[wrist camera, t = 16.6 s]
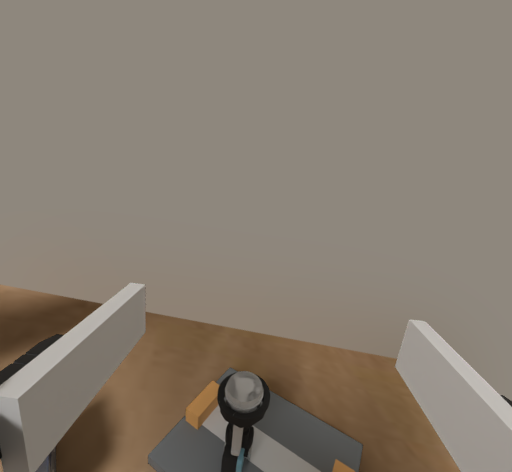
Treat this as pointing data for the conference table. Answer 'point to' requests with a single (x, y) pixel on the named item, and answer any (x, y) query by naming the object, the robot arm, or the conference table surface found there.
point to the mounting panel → (255, 440)
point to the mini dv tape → (48, 463)
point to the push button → (241, 415)
